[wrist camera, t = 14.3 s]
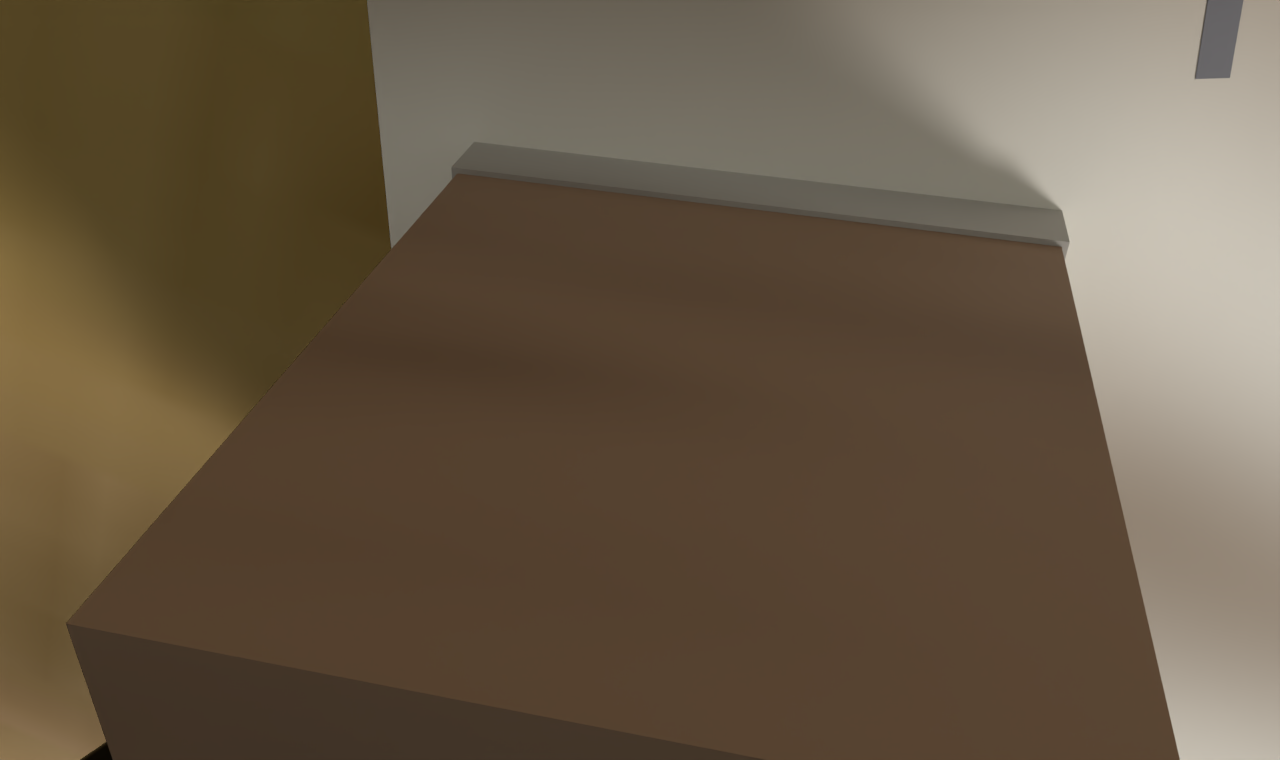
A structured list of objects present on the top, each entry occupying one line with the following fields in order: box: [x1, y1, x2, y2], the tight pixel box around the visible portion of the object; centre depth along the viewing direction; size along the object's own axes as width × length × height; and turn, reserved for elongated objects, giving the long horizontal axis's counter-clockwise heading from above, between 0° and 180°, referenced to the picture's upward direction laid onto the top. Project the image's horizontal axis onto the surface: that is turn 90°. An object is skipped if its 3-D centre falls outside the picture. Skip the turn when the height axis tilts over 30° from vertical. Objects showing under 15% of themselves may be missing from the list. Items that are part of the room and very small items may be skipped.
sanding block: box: [66, 142, 1180, 760], centre depth 9 cm, size 7×5×6 cm
